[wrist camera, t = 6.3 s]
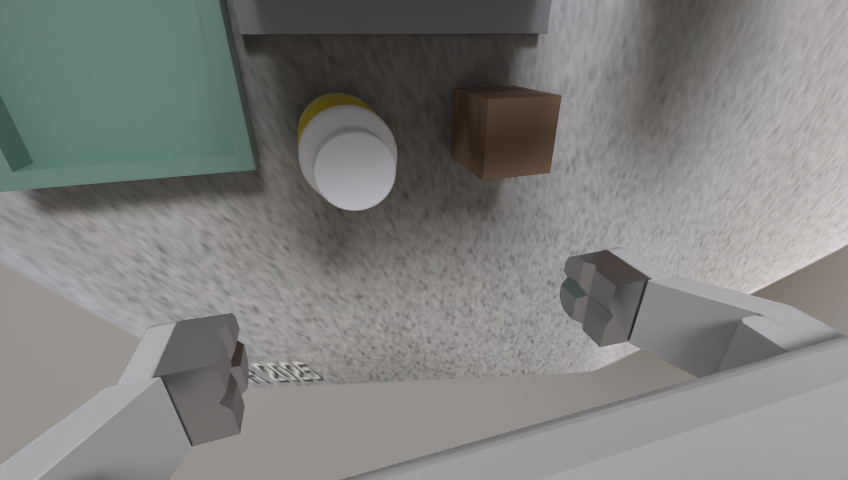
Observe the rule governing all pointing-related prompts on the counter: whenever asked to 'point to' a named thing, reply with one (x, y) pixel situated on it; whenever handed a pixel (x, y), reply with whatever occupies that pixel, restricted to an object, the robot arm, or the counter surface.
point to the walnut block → (504, 130)
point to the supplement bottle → (346, 151)
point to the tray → (119, 92)
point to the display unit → (392, 16)
